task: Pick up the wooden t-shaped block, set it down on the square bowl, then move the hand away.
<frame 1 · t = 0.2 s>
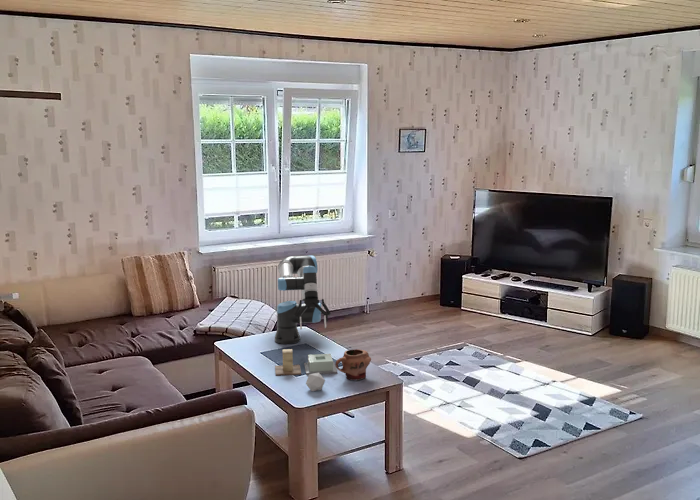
hand: (313, 328, 361), 16 cm above the table, tool tilted 35°, fingers open, 13 cm apart
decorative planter: (353, 378, 327), on the table
wooden t-shaped block: (287, 371, 339), on the table
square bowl: (320, 368, 341), on the table
die: (315, 389, 313), on the table
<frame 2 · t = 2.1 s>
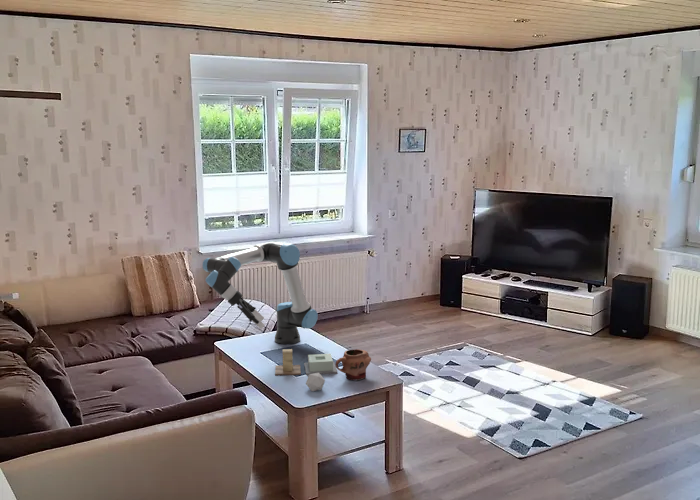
hand: (262, 323, 333), 26 cm above the table, tool tilted 45°, fingers open, 13 cm apart
nothing on the table moved.
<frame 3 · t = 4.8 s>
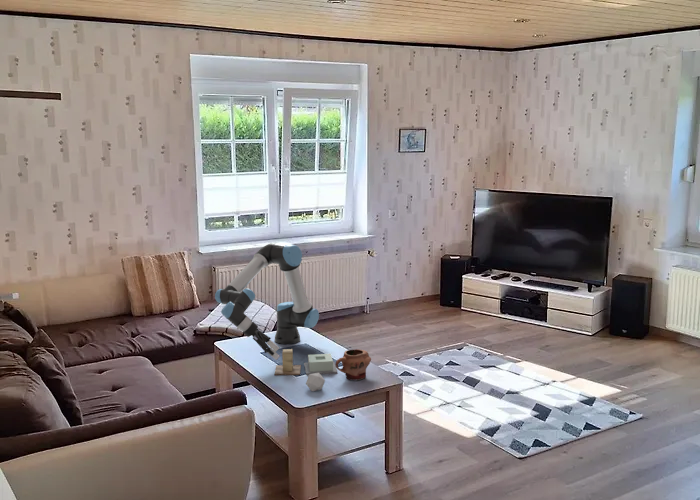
hand: (277, 353, 336), 10 cm above the table, tool tilted 45°, fingers open, 13 cm apart
nothing on the table moved.
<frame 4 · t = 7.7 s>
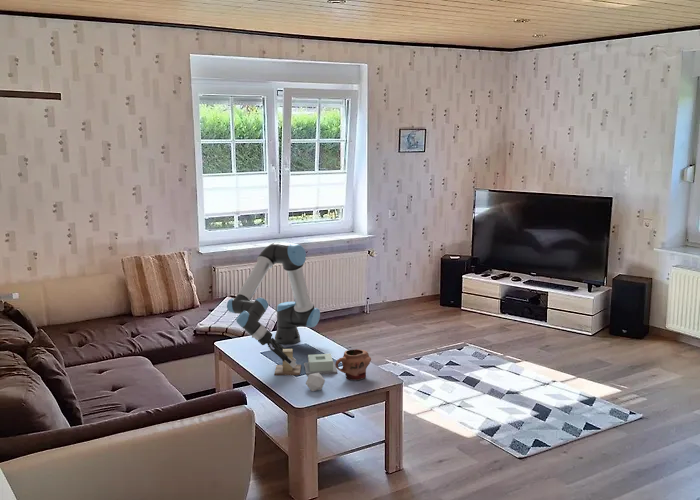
hand: (294, 364, 339), 3 cm above the table, tool tilted 45°, fingers closed on wooden t-shaped block, 5 cm apart
wooden t-shaped block: (287, 370, 339), on the table, touching gripper
everything else where it was.
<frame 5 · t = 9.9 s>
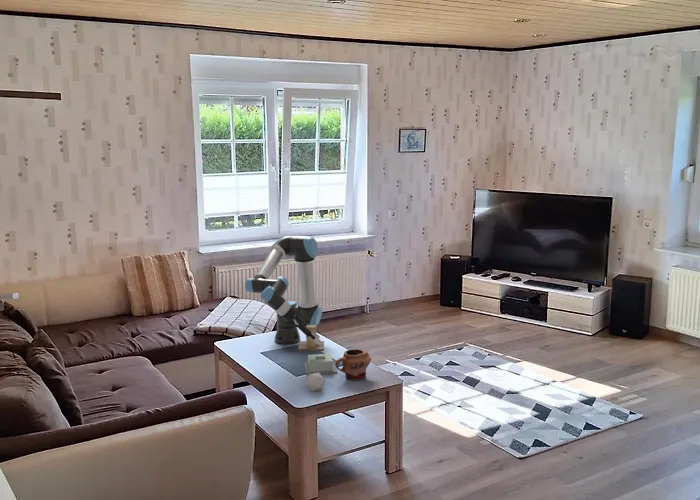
hand: (318, 340, 337), 16 cm above the table, tool tilted 45°, fingers closed on wooden t-shaped block, 5 cm apart
wooden t-shaped block: (311, 347, 337), point 12 cm above the table, touching gripper
everything else where it was.
when the fingers open (11 cm above the table, at t = 12.2 s): wooden t-shaped block drops 1 cm, resting on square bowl.
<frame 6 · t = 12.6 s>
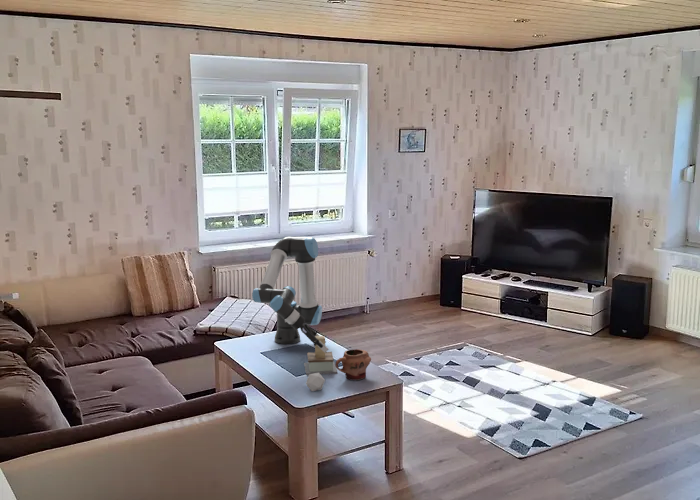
hand: (325, 347, 339), 12 cm above the table, tool tilted 45°, fingers open, 11 cm apart
wooden t-shaped block: (320, 357, 340), point 6 cm above the table, touching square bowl
everything else where it was.
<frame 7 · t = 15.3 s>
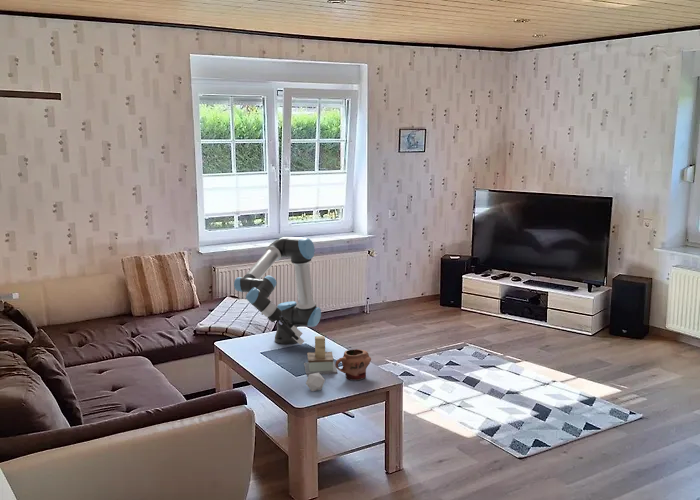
hand: (301, 339, 337), 17 cm above the table, tool tilted 45°, fingers open, 13 cm apart
nothing on the table moved.
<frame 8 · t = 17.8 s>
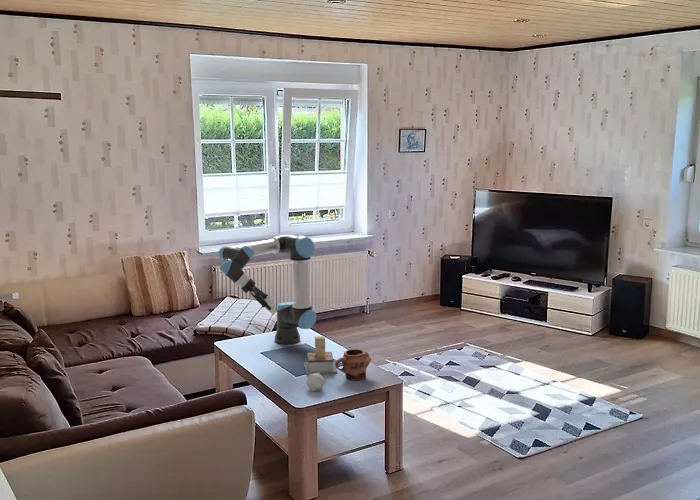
hand: (275, 309, 345), 30 cm above the table, tool tilted 45°, fingers open, 13 cm apart
nothing on the table moved.
at the end: wooden t-shaped block inside the target area (0.1 cm from its centre), point 6.0 cm above the table; wooden t-shaped block tilted 0°; the gripper is holding nothing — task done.
